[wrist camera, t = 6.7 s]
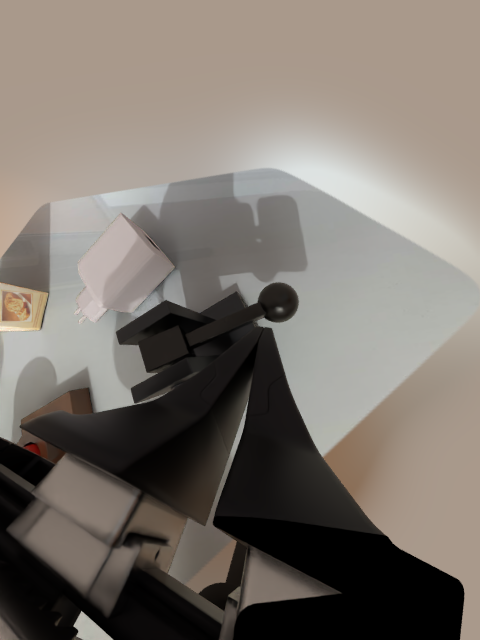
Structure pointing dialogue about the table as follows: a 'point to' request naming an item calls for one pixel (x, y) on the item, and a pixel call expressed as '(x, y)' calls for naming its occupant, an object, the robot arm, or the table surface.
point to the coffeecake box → (21, 308)
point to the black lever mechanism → (188, 320)
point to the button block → (68, 402)
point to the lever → (216, 328)
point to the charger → (120, 270)
